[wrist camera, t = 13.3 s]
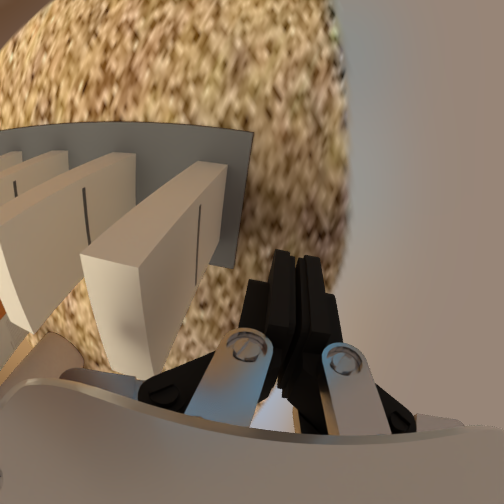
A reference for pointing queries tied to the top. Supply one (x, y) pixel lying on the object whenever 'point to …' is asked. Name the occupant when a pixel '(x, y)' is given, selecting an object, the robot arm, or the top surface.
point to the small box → (9, 336)
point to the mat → (151, 158)
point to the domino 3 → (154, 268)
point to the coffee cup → (45, 361)
